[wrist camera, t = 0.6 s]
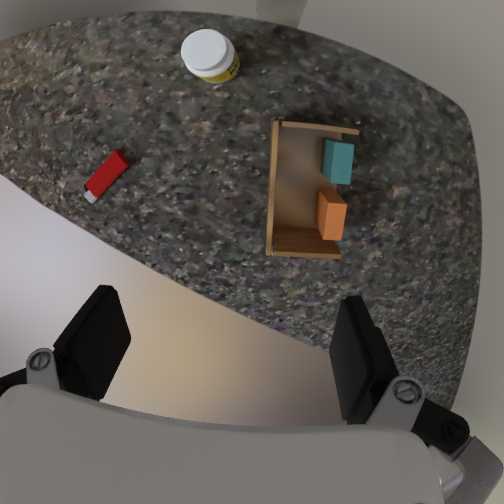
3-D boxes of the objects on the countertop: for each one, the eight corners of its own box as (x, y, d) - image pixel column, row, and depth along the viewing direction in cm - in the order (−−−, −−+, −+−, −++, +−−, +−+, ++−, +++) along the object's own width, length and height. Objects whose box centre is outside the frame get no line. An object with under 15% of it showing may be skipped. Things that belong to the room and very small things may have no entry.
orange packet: (318, 188, 31) (328, 202, 26) (334, 190, 31) (347, 204, 26) (314, 220, 33) (322, 239, 28) (330, 221, 33) (341, 240, 28)
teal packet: (323, 137, 29) (334, 141, 24) (340, 139, 28) (354, 144, 24) (320, 171, 30) (330, 182, 25) (336, 173, 30) (349, 184, 25)
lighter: (127, 166, 30) (91, 205, 33) (131, 164, 31) (95, 202, 34) (114, 149, 29) (79, 189, 32) (118, 148, 30) (84, 187, 33)
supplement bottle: (241, 82, 27) (232, 70, 19) (199, 87, 27) (177, 77, 19) (239, 45, 24) (230, 21, 17) (197, 49, 25) (175, 30, 17)
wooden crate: (271, 120, 28) (273, 120, 22) (341, 127, 28) (362, 130, 22) (265, 227, 34) (265, 255, 28) (329, 231, 34) (343, 259, 28)
